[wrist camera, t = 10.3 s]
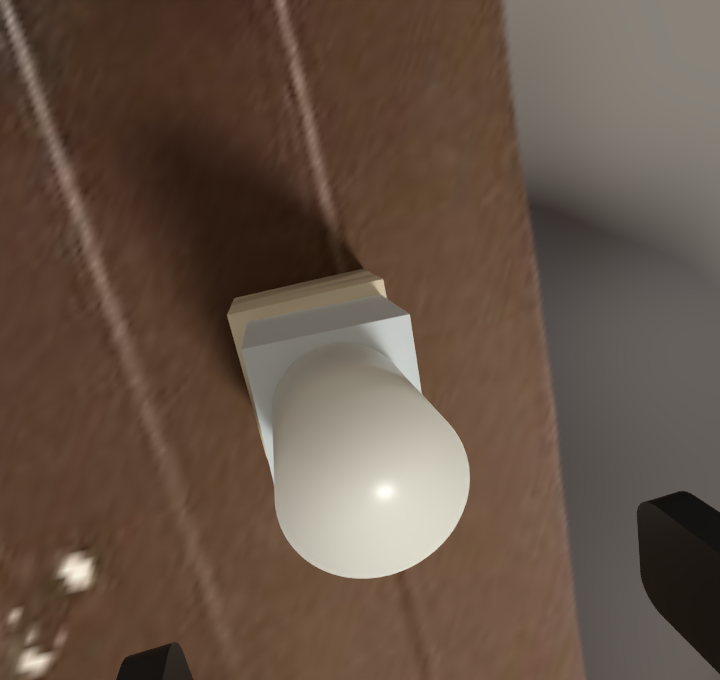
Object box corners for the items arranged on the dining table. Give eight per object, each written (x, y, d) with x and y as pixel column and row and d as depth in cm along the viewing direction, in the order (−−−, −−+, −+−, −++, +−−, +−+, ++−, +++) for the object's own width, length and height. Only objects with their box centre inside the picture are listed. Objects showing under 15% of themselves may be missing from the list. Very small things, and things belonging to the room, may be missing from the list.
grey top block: (247, 321, 22) (241, 349, 18) (380, 294, 23) (409, 314, 18) (276, 445, 24) (278, 502, 19) (400, 416, 25) (432, 464, 20)
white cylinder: (257, 359, 18) (253, 423, 12) (396, 328, 18) (455, 374, 13) (288, 487, 19) (298, 600, 13) (418, 454, 20) (481, 548, 14)
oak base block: (234, 297, 27) (226, 315, 22) (363, 268, 28) (382, 279, 23) (267, 418, 29) (267, 458, 24) (387, 387, 30) (410, 420, 25)
